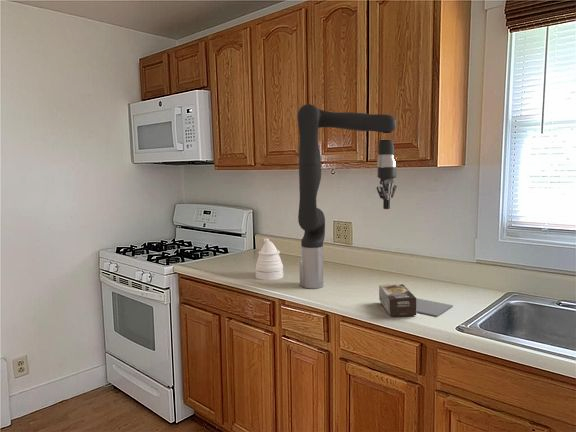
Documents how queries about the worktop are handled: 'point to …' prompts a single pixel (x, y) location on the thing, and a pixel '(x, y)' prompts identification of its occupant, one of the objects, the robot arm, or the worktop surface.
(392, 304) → the coffee box
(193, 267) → the worktop surface
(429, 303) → the mat
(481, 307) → the worktop surface
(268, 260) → the honey pot
